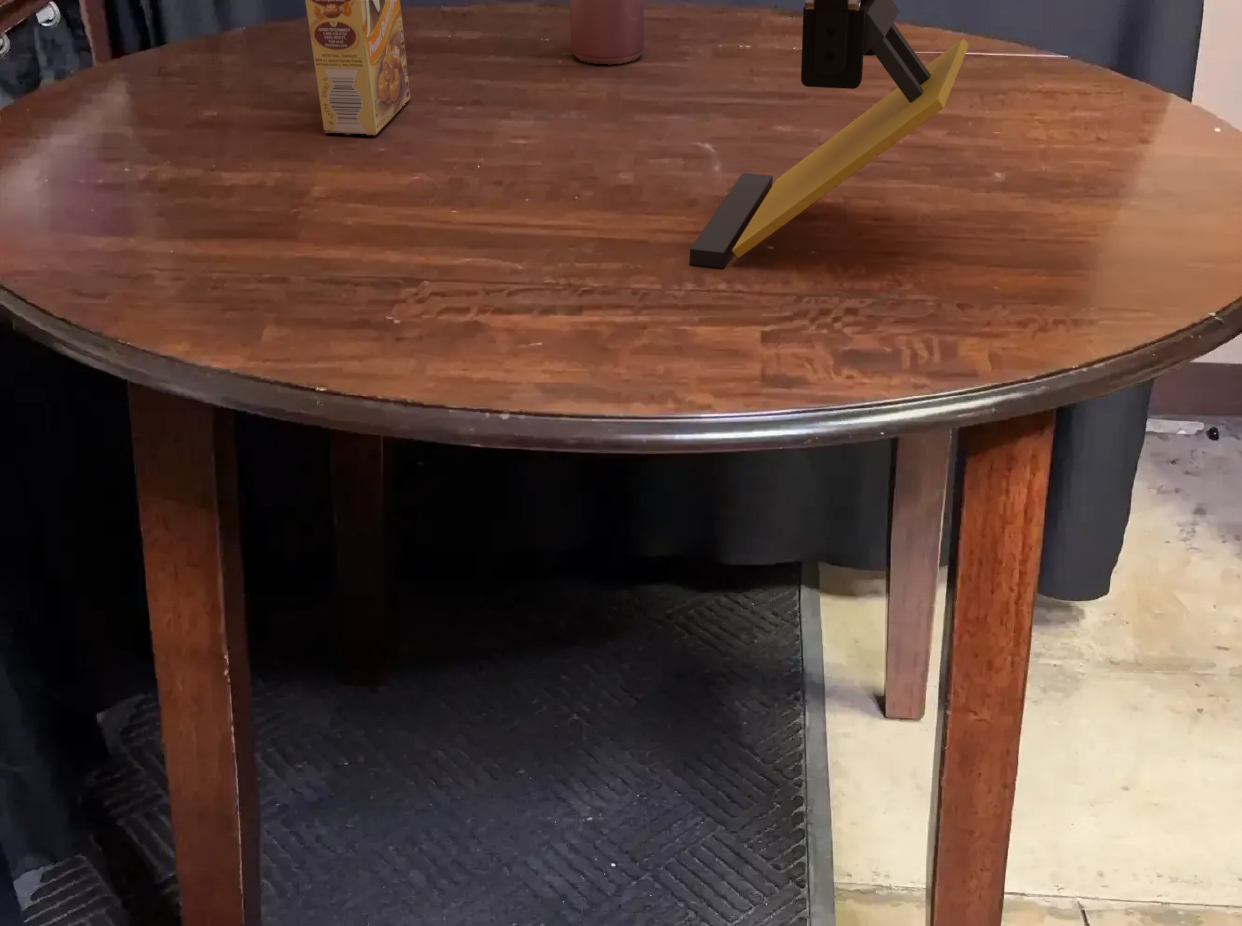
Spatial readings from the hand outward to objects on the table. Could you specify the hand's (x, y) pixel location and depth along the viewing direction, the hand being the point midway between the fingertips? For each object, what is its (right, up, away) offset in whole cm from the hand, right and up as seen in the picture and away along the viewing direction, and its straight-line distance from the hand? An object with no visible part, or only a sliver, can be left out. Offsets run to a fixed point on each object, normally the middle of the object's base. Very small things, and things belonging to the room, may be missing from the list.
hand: (841, 66), depth 78 cm
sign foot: (-5, -7, +7) cm, 11 cm away
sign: (+1, -4, +2) cm, 5 cm away
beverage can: (-13, +15, +37) cm, 42 cm away
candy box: (-31, +5, +25) cm, 40 cm away
